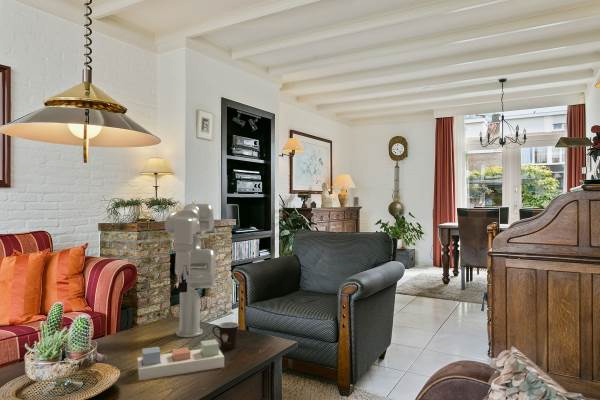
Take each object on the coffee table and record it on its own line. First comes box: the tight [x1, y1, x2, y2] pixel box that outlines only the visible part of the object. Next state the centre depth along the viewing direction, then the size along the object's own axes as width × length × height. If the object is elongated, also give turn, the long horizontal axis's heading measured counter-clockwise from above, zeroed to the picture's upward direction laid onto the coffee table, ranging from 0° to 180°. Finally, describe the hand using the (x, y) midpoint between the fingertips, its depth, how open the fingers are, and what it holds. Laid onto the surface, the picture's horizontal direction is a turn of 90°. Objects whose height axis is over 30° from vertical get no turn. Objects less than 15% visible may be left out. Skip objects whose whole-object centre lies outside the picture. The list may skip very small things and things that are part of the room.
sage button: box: [200, 339, 220, 357], centre depth 163 cm, size 6×6×5 cm
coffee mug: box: [212, 321, 239, 351], centre depth 182 cm, size 12×9×10 cm
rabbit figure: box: [96, 352, 108, 363], centre depth 163 cm, size 6×6×15 cm
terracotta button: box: [171, 346, 190, 361], centre depth 158 cm, size 6×6×5 cm
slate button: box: [141, 346, 161, 366], centre depth 154 cm, size 6×6×5 cm
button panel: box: [136, 348, 225, 381], centre depth 158 cm, size 12×31×4 cm, turn 115°
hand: (182, 291), depth 170 cm, fingers closed
